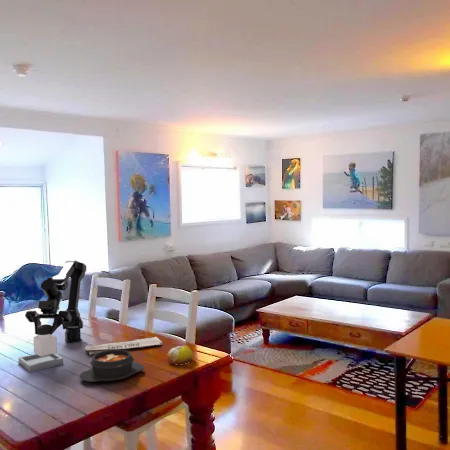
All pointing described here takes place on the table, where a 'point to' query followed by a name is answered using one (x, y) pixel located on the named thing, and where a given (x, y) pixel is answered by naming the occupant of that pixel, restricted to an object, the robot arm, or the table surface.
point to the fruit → (179, 355)
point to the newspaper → (123, 345)
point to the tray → (40, 361)
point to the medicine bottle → (44, 341)
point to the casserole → (111, 366)
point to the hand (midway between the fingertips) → (43, 334)
